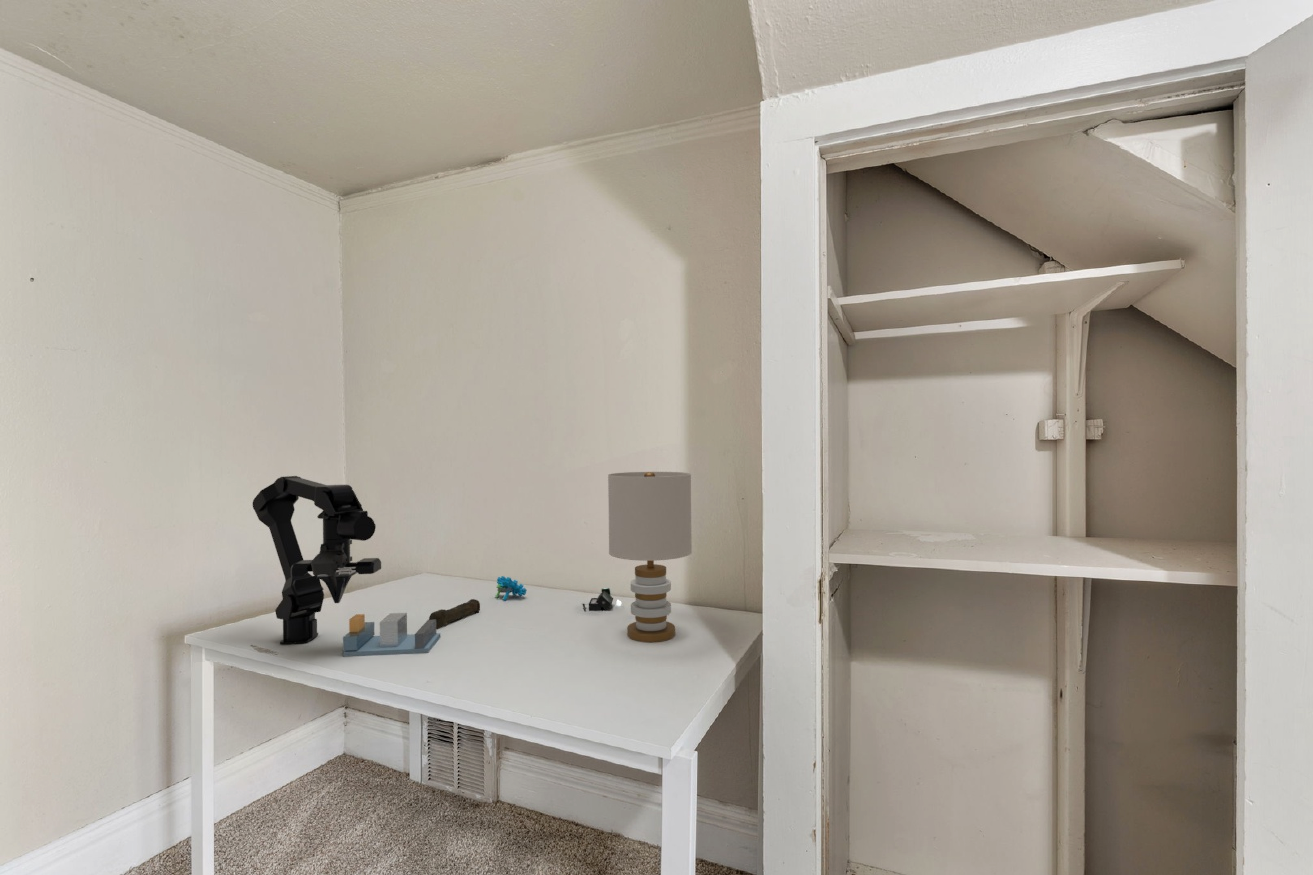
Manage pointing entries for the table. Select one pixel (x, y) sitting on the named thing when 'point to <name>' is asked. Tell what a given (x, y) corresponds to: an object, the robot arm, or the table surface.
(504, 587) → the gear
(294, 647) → the table surface
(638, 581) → the lamp
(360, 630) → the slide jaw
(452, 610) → the brown wooden stick
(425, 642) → the vise
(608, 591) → the black angled gadget
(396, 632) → the steel block
